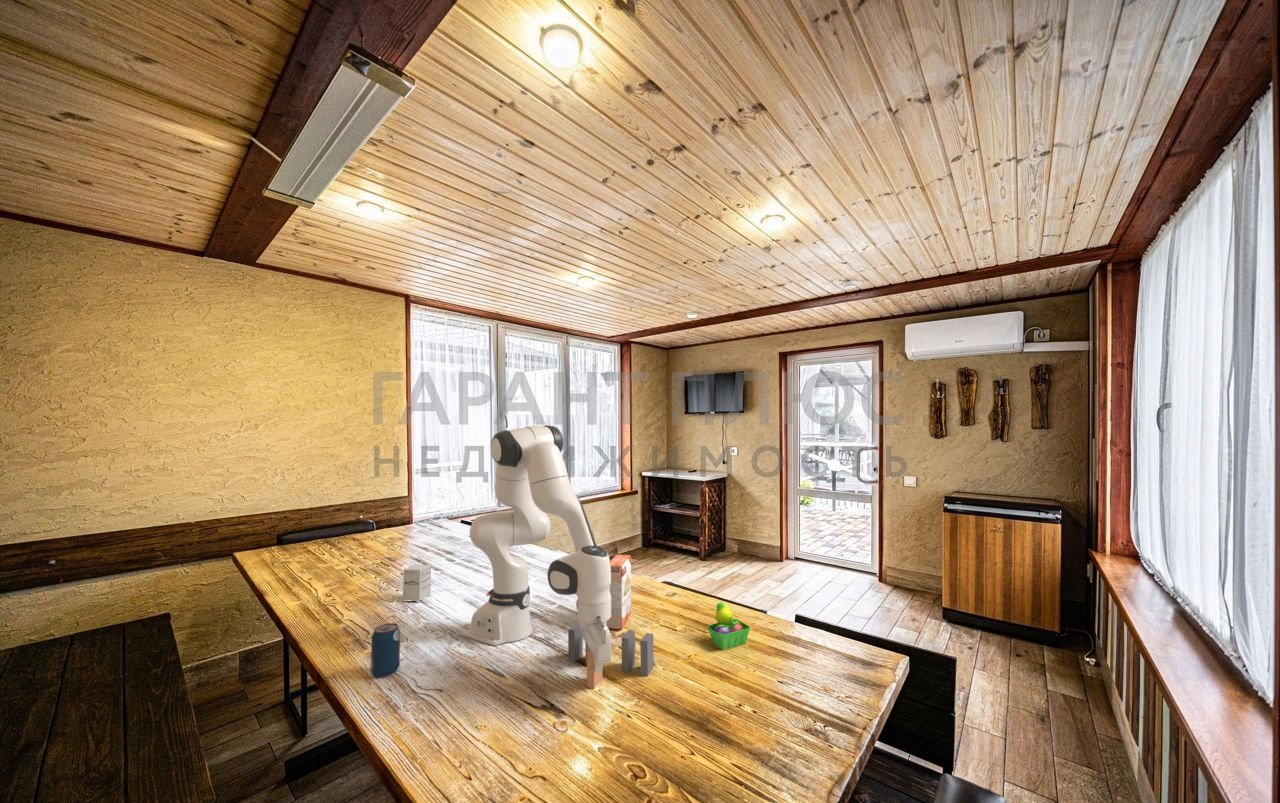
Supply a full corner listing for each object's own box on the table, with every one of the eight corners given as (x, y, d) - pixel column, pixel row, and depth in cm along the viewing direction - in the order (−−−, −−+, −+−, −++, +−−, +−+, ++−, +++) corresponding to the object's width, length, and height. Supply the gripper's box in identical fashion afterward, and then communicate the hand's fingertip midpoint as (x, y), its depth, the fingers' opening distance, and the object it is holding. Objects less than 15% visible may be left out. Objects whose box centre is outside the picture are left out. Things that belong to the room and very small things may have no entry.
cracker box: (623, 630, 152) (622, 565, 154) (605, 629, 154) (604, 564, 155) (632, 613, 166) (631, 554, 167) (615, 612, 167) (615, 553, 169)
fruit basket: (722, 653, 137) (721, 613, 137) (704, 641, 144) (703, 603, 145) (752, 644, 142) (751, 606, 142) (733, 633, 150) (732, 597, 150)
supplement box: (402, 602, 180) (402, 569, 181) (414, 595, 187) (415, 563, 188) (419, 603, 179) (420, 569, 180) (431, 596, 186) (431, 564, 187)
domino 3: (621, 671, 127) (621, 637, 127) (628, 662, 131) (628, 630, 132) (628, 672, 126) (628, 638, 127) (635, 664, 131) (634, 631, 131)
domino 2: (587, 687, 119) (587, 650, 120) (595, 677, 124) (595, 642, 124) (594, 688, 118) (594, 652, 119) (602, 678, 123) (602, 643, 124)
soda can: (405, 668, 130) (406, 624, 130) (384, 680, 123) (385, 634, 124) (386, 664, 132) (387, 621, 133) (364, 676, 126) (365, 631, 126)
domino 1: (568, 661, 132) (568, 629, 133) (576, 653, 137) (576, 622, 138) (574, 662, 132) (574, 630, 132) (582, 654, 136) (582, 623, 137)
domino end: (640, 674, 125) (640, 640, 125) (646, 666, 129) (646, 632, 130) (647, 676, 124) (647, 641, 125) (653, 667, 129) (653, 633, 129)
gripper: (617, 623, 114) (617, 682, 113) (596, 595, 133) (597, 645, 132) (592, 627, 111) (592, 687, 111) (574, 598, 131) (575, 649, 130)
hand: (594, 664), depth 121 cm, fingers closed on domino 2, 5 cm apart
